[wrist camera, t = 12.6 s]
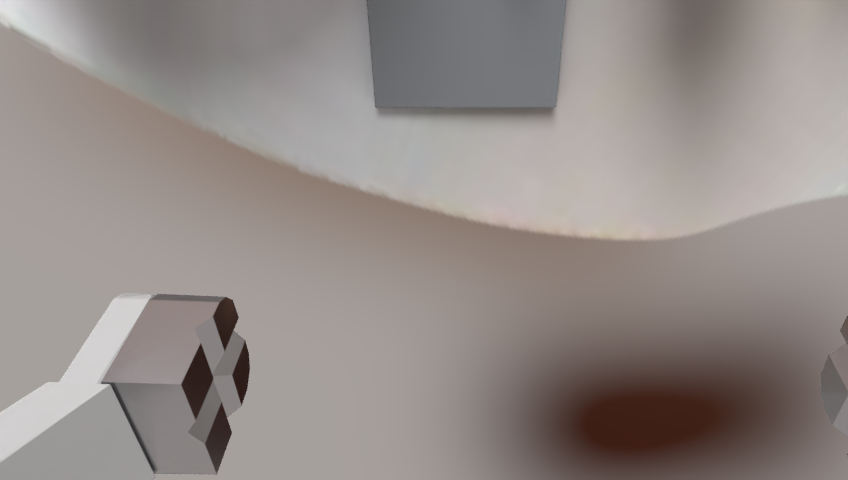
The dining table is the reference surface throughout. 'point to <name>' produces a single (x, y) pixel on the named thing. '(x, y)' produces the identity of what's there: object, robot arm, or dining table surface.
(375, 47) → the slate mat
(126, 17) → the dining table surface
